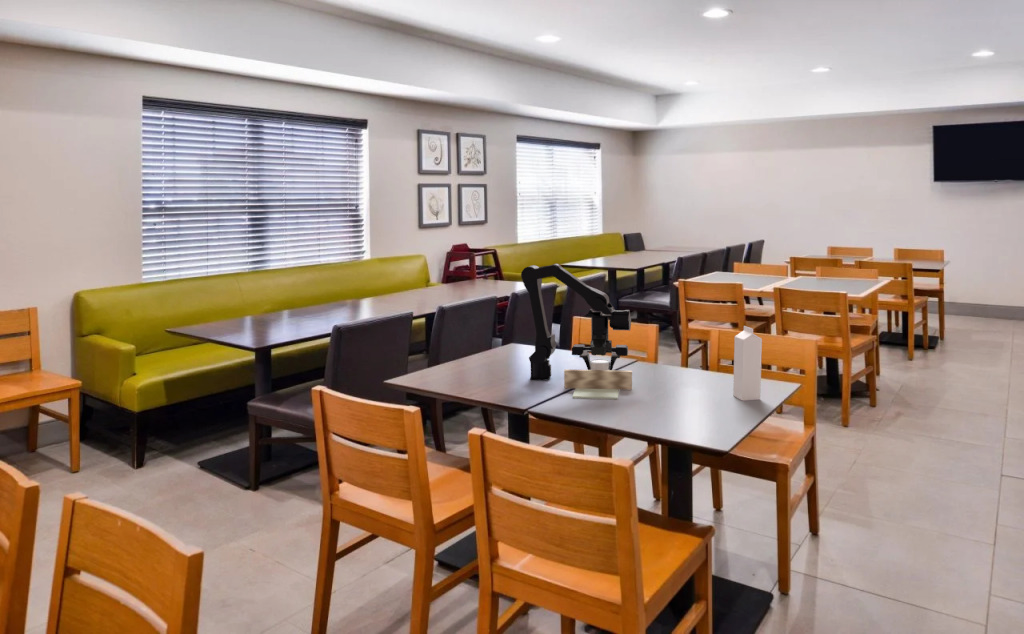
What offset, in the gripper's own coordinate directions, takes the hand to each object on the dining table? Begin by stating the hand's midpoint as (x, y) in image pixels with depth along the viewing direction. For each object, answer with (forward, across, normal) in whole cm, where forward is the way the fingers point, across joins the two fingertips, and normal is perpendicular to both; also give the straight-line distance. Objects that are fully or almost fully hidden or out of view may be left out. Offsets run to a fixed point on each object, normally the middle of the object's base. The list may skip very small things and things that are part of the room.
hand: (600, 374), depth 248 cm
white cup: (+2, 0, 0) cm, 2 cm away
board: (+2, 0, -10) cm, 10 cm away
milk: (+2, +46, -17) cm, 49 cm away
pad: (+2, 0, -18) cm, 18 cm away
